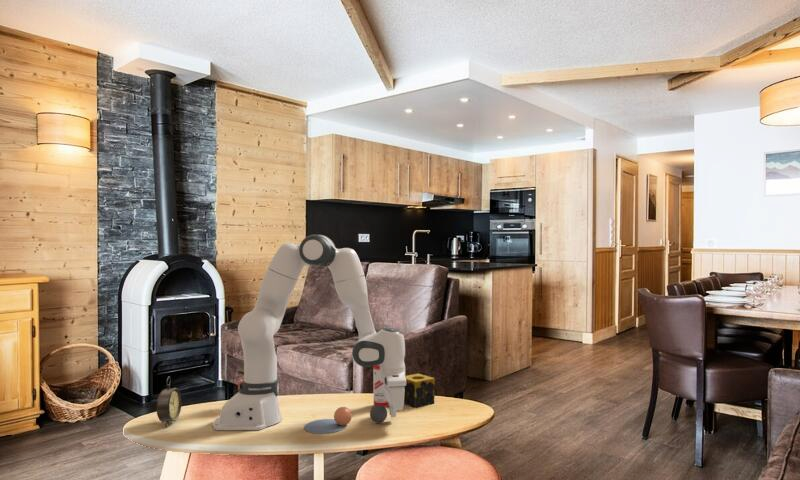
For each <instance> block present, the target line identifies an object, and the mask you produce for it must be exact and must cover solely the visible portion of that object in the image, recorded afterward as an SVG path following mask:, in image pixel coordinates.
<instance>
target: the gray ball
mask: <svg viewBox="0 0 800 480" xmlns="http://www.w3.org/2000/svg"><path fill="white" fill-rule="evenodd" d="M369 417H370V419H371V421H372V422H374V423H376V424H381V423H383V422H384V421H386V420H387V418H388V411H387V407H384V406H382V405H373V406H372V407H371V408H370V411H369Z"/></svg>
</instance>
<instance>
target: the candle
mask: <svg viewBox="0 0 800 480" xmlns="http://www.w3.org/2000/svg"><path fill="white" fill-rule="evenodd" d="M405 378H406V386H404V389H405V392H404V405H407V406H409V407H410V408H411V407H412V408H413V409H415V408H416V409H417V408H421V407H425V406H430V405H434V404H435V378H434V377H431V376H429V375H425V374H421V373H414V374H409V375H408V374H407V375H405ZM429 404H430V405H429Z"/></svg>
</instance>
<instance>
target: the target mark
mask: <svg viewBox="0 0 800 480" xmlns="http://www.w3.org/2000/svg"><path fill="white" fill-rule="evenodd" d="M345 428H347V425H343V426H342V425H339V424H337V423H336V422H335V420H334V418H321V419H317V420H316V419H315V420H313V421H309V422H307V423H306V424H305V425H304V430H305V431H306V432H307V433H308V432H309V433H312V434H317V435H318V434H322V435H323V434H324V433H326V434H333V433H337V432H340V431H344V430H345Z"/></svg>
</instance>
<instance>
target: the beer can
mask: <svg viewBox="0 0 800 480" xmlns="http://www.w3.org/2000/svg"><path fill="white" fill-rule="evenodd" d="M372 371H373V374H372V375H373V376H372V377H373V378H372V379H373V382H372V383H373V384H372V385H373V387H372V389H373V393H372V395H373V396H372V399H373V406H375V405H382V406H384V407H385V408H389V403H388V401H387V400H386V398H385V396H384V393H383V382H381V381H380V365H375V366H373V370H372Z"/></svg>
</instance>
